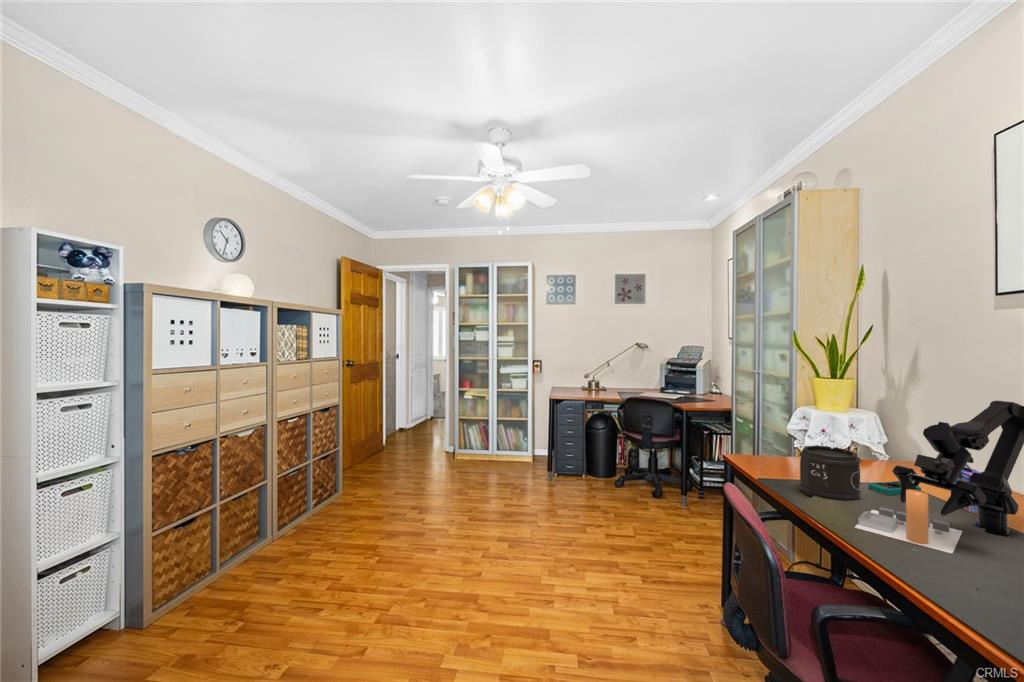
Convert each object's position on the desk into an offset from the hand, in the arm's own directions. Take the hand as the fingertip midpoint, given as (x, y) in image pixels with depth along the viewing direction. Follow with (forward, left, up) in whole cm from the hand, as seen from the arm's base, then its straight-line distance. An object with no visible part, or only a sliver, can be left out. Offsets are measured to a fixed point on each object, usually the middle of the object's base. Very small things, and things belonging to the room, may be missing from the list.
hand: (921, 507), depth 118 cm
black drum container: (-25, -28, -10) cm, 39 cm away
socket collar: (-3, -10, -8) cm, 13 cm away
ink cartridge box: (-45, +5, -10) cm, 46 cm away
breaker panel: (-6, -4, -10) cm, 12 cm away
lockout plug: (+1, -1, -8) cm, 9 cm away
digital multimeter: (-47, -14, -10) cm, 50 cm away
